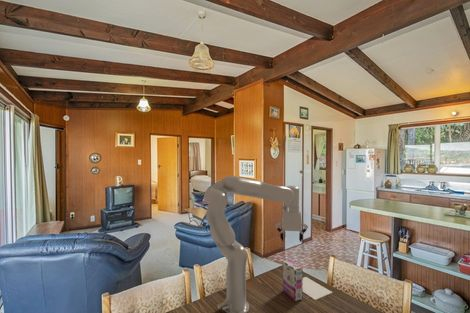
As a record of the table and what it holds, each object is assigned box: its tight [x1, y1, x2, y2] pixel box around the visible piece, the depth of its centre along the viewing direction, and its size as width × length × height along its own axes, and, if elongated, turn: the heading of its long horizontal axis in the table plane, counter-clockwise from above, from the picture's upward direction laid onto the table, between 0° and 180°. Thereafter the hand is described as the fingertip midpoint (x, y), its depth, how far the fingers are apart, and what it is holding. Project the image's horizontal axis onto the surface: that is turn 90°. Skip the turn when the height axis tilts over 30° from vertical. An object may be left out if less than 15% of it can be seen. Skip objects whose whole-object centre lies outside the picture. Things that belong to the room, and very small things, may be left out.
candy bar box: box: [282, 259, 304, 302], centre depth 132 cm, size 11×5×16 cm, turn 23°
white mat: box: [302, 276, 333, 301], centre depth 139 cm, size 13×19×1 cm
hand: (291, 240), depth 135 cm, fingers open, 9 cm apart
